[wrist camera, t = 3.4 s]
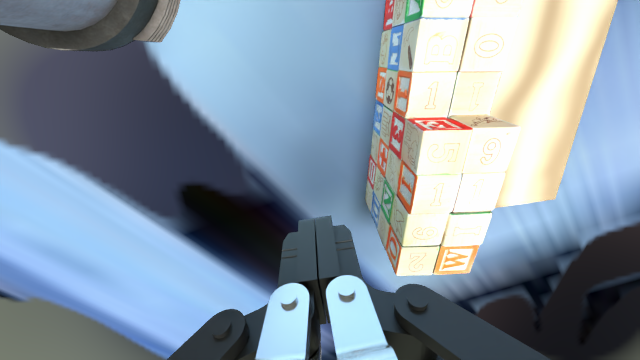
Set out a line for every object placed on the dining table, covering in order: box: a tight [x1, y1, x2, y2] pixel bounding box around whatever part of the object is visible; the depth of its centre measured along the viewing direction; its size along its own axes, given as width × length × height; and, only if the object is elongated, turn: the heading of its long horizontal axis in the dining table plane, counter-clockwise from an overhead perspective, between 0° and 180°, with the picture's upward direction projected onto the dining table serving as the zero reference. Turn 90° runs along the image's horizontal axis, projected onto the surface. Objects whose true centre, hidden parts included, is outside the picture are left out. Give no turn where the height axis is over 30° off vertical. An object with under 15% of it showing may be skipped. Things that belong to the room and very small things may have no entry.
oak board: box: [490, 0, 618, 208], centre depth 26 cm, size 14×26×1 cm, turn 8°
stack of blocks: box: [365, 0, 523, 276], centre depth 21 cm, size 21×6×12 cm, turn 0°
